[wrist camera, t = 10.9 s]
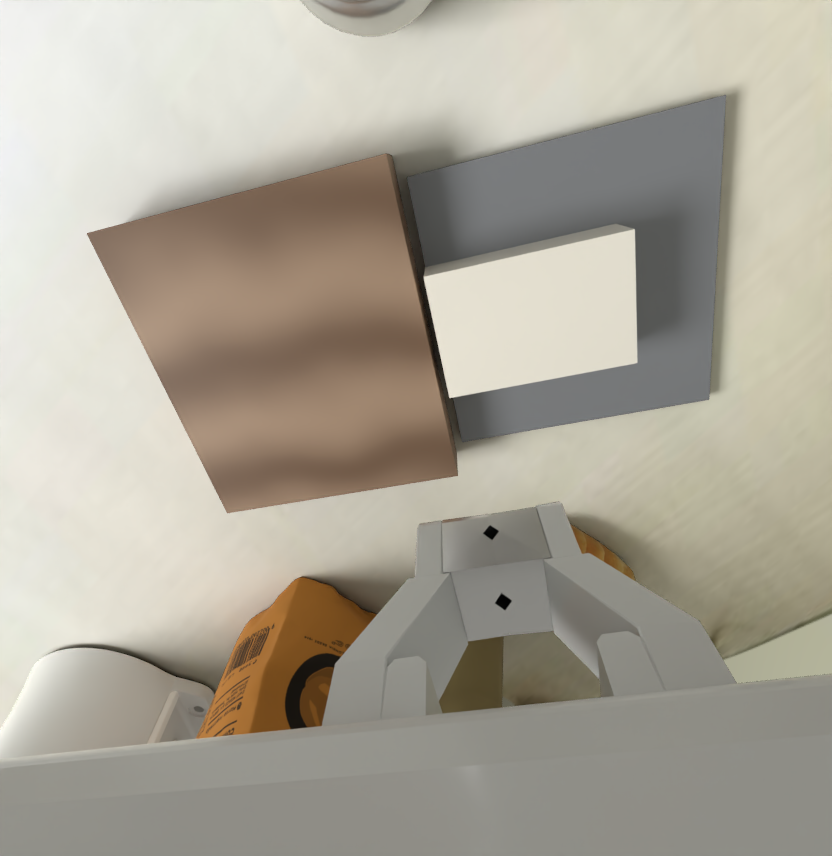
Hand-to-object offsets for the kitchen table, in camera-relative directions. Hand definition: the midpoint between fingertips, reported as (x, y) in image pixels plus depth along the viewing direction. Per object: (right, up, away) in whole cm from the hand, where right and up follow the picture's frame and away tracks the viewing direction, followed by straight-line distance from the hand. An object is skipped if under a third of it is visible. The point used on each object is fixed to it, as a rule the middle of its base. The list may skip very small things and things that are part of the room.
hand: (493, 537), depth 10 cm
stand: (-8, +7, +16) cm, 19 cm away
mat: (+6, +9, +14) cm, 18 cm away
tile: (+4, +8, +14) cm, 17 cm away
